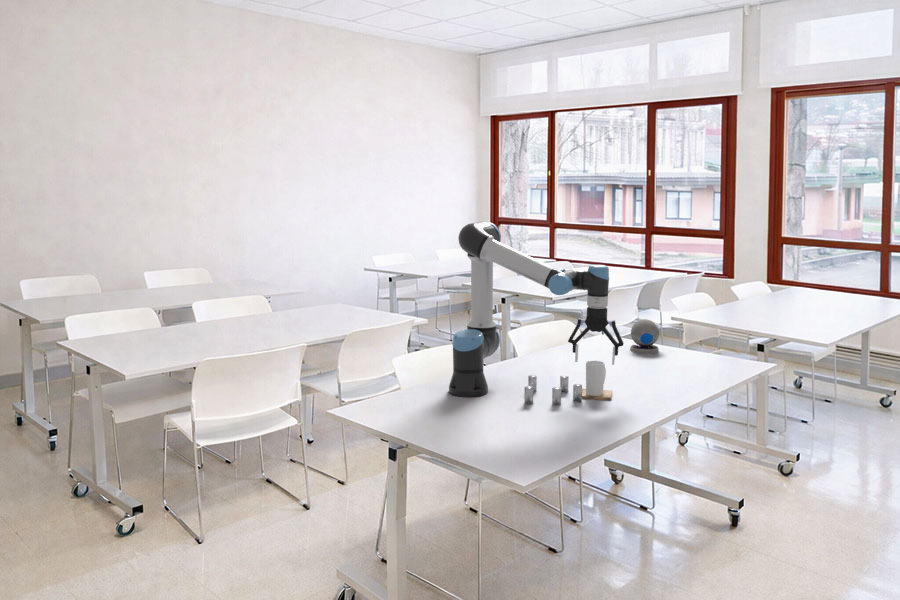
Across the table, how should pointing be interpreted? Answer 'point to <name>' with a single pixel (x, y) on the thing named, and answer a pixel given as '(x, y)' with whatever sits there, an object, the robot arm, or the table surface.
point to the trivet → (606, 396)
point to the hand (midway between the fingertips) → (594, 362)
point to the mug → (595, 377)
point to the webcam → (644, 336)
